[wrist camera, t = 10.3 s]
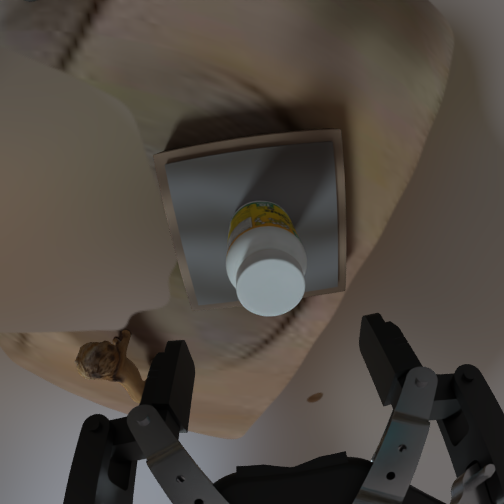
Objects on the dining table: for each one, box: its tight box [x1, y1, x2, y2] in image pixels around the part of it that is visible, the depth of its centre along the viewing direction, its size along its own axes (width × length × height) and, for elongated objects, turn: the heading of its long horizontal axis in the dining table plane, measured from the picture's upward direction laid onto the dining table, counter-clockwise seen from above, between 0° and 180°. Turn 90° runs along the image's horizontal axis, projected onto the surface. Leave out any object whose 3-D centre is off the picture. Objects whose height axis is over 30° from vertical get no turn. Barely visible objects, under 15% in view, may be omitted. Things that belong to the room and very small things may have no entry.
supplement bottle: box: [226, 201, 307, 316], centre depth 21 cm, size 5×5×10 cm
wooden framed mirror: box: [153, 128, 346, 311], centre depth 27 cm, size 16×16×4 cm
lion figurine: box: [75, 330, 152, 403], centre depth 32 cm, size 15×5×9 cm, turn 35°
